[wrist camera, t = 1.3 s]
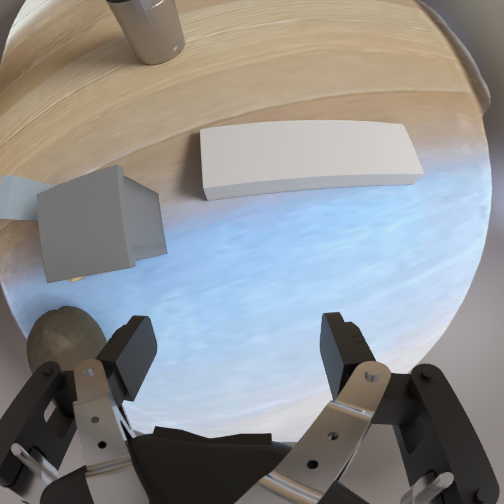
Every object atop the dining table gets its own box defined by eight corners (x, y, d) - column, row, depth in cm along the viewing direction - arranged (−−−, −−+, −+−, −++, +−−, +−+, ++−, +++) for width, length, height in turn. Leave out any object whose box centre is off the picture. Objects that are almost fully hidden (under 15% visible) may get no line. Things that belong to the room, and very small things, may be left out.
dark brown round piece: (57, 349, 38) (10, 380, 23) (69, 284, 38) (11, 301, 23) (118, 387, 39) (82, 434, 24) (136, 322, 39) (92, 360, 24)
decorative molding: (204, 147, 41) (208, 202, 39) (200, 129, 36) (203, 188, 34) (392, 139, 42) (410, 186, 40) (403, 124, 37) (424, 174, 35)
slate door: (61, 187, 37) (12, 175, 24) (57, 222, 37) (6, 218, 24) (48, 188, 37) (1, 176, 24) (45, 221, 37) (-5, 218, 24)
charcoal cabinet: (160, 190, 38) (117, 164, 23) (171, 259, 39) (131, 273, 23) (69, 214, 37) (7, 207, 22) (78, 276, 38) (18, 293, 23)
